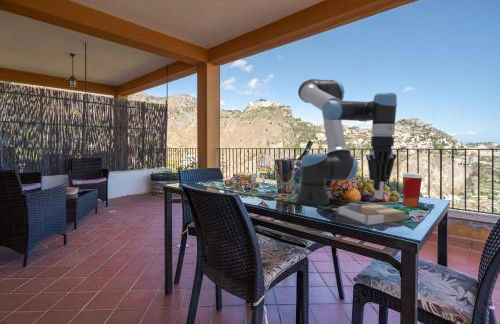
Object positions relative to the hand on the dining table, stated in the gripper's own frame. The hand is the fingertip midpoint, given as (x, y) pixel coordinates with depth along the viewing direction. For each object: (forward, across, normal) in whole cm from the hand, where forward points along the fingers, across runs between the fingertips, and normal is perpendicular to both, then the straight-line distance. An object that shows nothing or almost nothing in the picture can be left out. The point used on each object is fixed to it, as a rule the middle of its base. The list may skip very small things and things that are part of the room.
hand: (378, 198), depth 102 cm
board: (+8, +4, +3) cm, 9 cm away
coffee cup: (+9, +32, +12) cm, 35 cm away
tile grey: (+6, -4, +6) cm, 9 cm away
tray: (+8, -6, +3) cm, 10 cm away
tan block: (+5, -4, -1) cm, 7 cm away
